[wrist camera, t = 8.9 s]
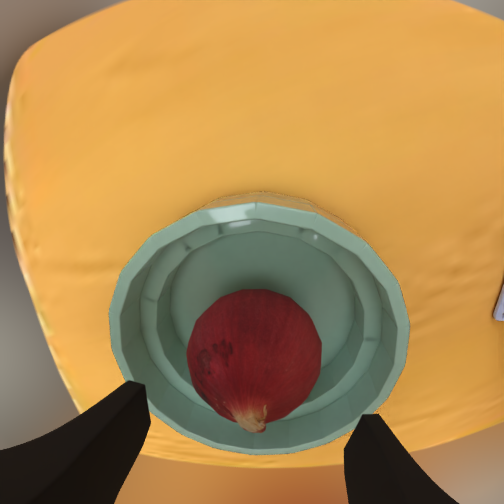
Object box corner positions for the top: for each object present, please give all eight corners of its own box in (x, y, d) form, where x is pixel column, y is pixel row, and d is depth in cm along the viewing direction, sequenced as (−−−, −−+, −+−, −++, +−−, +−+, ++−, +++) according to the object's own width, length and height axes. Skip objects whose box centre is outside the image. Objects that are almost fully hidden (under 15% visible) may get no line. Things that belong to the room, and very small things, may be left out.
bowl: (372, 178, 14) (412, 185, 9) (372, 384, 18) (390, 439, 13) (127, 213, 16) (74, 233, 11) (181, 398, 19) (160, 450, 14)
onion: (215, 358, 17) (179, 465, 10) (200, 268, 16) (136, 356, 8) (313, 356, 17) (326, 468, 9) (313, 262, 15) (341, 355, 7)
